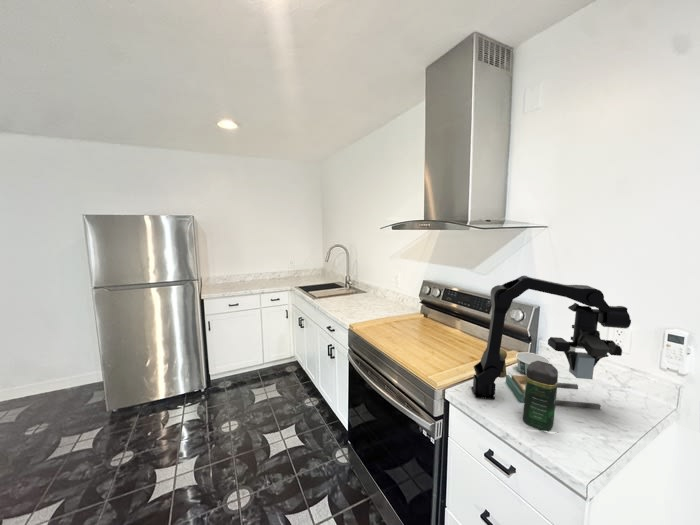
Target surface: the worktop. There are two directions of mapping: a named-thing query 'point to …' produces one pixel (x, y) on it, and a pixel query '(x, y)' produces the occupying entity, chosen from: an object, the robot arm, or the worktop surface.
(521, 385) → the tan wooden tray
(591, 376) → the block
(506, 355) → the cork
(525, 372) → the food container
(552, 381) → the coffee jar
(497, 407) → the worktop surface
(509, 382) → the bay
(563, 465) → the worktop surface
